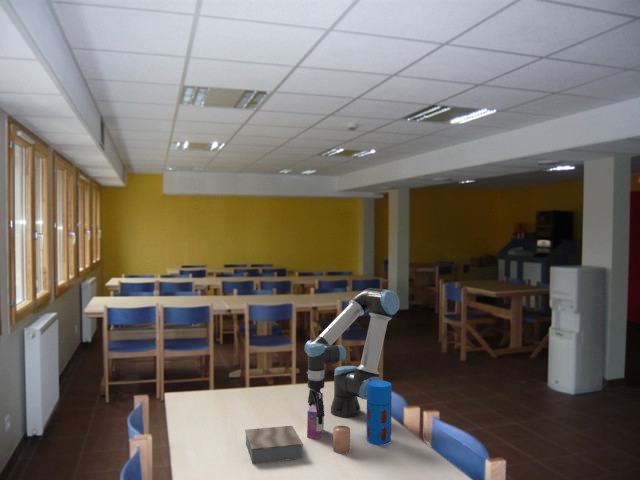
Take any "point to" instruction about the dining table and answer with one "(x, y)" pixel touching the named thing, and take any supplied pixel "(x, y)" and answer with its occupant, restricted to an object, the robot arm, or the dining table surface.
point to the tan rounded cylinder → (341, 439)
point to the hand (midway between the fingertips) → (315, 425)
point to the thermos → (379, 412)
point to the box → (313, 423)
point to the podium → (273, 444)
